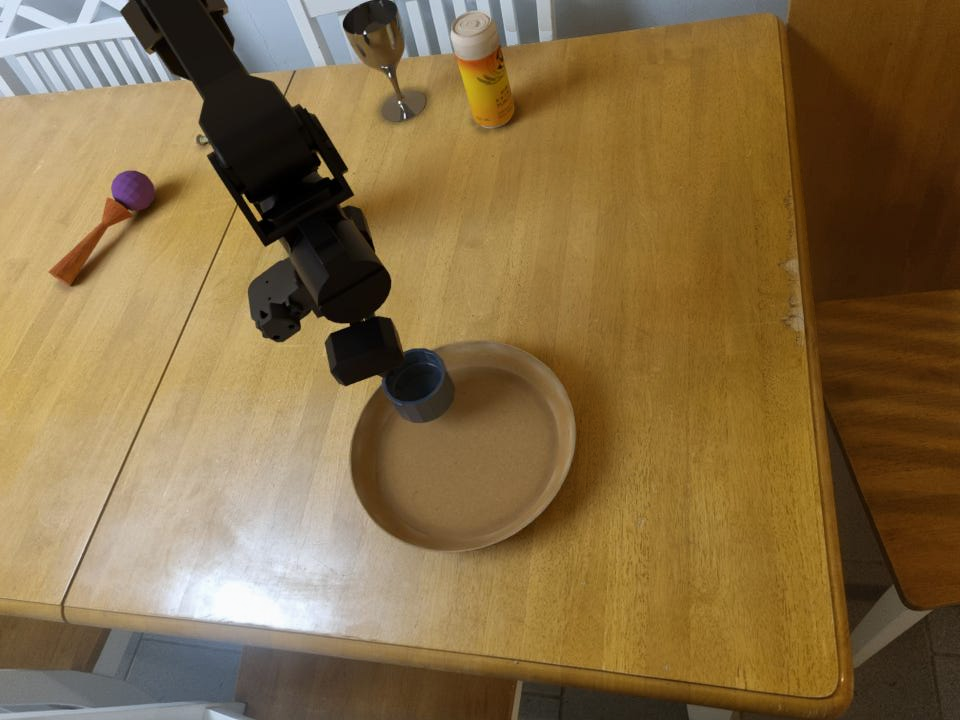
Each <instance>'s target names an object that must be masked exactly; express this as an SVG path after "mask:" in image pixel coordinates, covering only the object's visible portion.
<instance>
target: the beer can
mask: <svg viewBox="0 0 960 720" xmlns="http://www.w3.org/2000/svg"><path fill="white" fill-rule="evenodd" d="M450 27H451V30H450V41H451V44H452V47H453V50H454V55H455V58H456V61H457V65H458V68H459V71H460V75H461V79H462V82H463V86H464V90H465V93H466V96H467V100H468V103H469V104H468V105H469V107H470V111H471V114H472V118H473V121H474V122H475V123H476V124H478V125H479V126H481V127H483V128H485V129H497V128H501V127H503V126H505V125H506V124H507V123H508V122H509V121H510V120H511V119H512V116H513V115H514V114H515V109H516V108H515V102H514V98H513V94H512V90H511V84H510V80H509V76H508V71H507V68H506V64H505V62H506V61H505V59H504V53H503V50H502V45H501V40H500V37H499V32H498V26H497V23H496V21H495V20H494V19H493V18H492V15H491V14H490V13H489V12H488V11H485V10H479V9H475V10H469V11H467V12H464V13H462V14H460V15H458V16H457V17H456V18H455V19H454V20H453V22H452V23H451V26H450Z"/></svg>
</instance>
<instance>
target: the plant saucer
mask: <svg viewBox="0 0 960 720" xmlns="http://www.w3.org/2000/svg"><path fill="white" fill-rule="evenodd" d="M429 350H431V351H434V352H436V353H437V354H438V355H439V356H440V357H441V358H442V359H443V361H444V363H445V365H446V367H447V369H448V371H449V373H450V375H451V377H452V379H453V382H454V385H455V396H454V400H453V402H452V404H451V405H450V407H449V409H448V410H447V411H446V412H445V413H444V414H443V415H442V416H440V417H439V418H437V419H435V420H433V421H429V422H426V423H412V422H410V421H408V420H405V419H403V418H402V417H401V416H400V415H399V414H398V412H397V411H396V410H395V408H394V407H393V405H392V404H391V402H390V401H389V399H388V398H387V396H386V395H385V393H384V391H383V387H382V382H380V383H379V385H378V386H377V387H376V388H375V389H374V390H373V392H372V393H371V395H370V396H369V398H368V399H367V401H366V402H365V404H364V405H363V407H362V409H361V410H360V412H359V415H358V417H357V420H356V422H355V425H354V427H353V430H352V434H351V439H350V444H349V452H348V466H349V467H348V469H349V475H350V476H349V477H350V481H351V485H352V489H353V491H354V494H355V496H356V499H357V501H358V503H359V505H360V507H361V508H362V510H363V511H364V513H365V515H366V516H367V517H368V518H369V520H370V521H371V522H372V523H373V524H374V525H375V526H376V527H377V528H378V529H379V530H381V531H382V532H383V533H384V534H385V535H387V536H389V537H390V538H392V539H393V540H395V541H397V542H398V543H401V544H403V545H405V546H408V547H411V548H413V549H417V550H420V551H426V552H432V553H440V554H441V553H442V554H454V553H455V554H456V553H465V552H466V553H467V552H470V551H471V552H472V551H476V550H480V549H484V548H487V547H490V546H493V545H495V544H497V543H500V542H503V541H504V540H507V539H508V538H510V537H512V536H514V535H516V534H517V533H519V532H520V531H522V530H523V529H524V528H526V527H527V526H528V525H530V524H531V523H533V522H534V520H537V518H538V517H539V516H540V515H541V514H542V513H543V512H544V511H545V510H546V509H547V507H548V506H550V504H551V503H552V502H553V500H554V499H555V498H556V496H557V494H558V493H559V491H560V490H561V488H562V486H563V485H564V484H565V483H564V482H565V481H566V478H567V477H568V474H569V471H570V469H571V466H572V463H573V460H574V455H575V450H576V441H577V424H576V423H577V422H576V417H575V412H574V407H573V405H572V401H571V399H570V397H569V395H568V392H567V390H566V388H565V387H564V385H563V383H562V381H561V380H560V379H559V377H558V376H557V375H556V373H554V371H553V370H552V369H551V368H549V366H548V365H547V364H545V363H544V362H543V361H542V360H541V359H539V358H538V357H537V356H535V355H533V354H532V353H529V352H528V351H526V350H524V349H522V348H519V347H517V346H514V345H511V344H507V343H504V342H500V341H495V340H484V339H483V340H482V339H481V340H480V339H472V340H471V339H470V340H461V341H454V342H450V343H445V344H442V345H439V346H436V347H433V348H430V349H429Z"/></svg>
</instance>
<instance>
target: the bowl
mask: <svg viewBox="0 0 960 720" xmlns="http://www.w3.org/2000/svg"><path fill="white" fill-rule="evenodd" d="M403 352H404V356H405V360H404V362H403V364H402V365H401V366H400V367H398V368H396V369H395V373H394V375H392V376H390V377H387V378H382V377H381V383H382V387H383V391H384V393H385V395H386V396H387V398H388V399H389V401H390V402H391V404H392V405H393V407H394V408H395V410H396V411H397V412H398V414H399V415H400V416H401V417H402V418H403V419H405V420H408V421H410V422H412V423H426V422H429V421H433V420H435V419H437V418H439V417H440V416H442V415H443V414H444V413H445V412H446V411H447V410H448V409H449V407H450V405H451V404H452V402H453V400H454V396H455V385H454V382H453V379H452V377H451V375H450V373H449V371H448V369H447V367H446V365H445V363H444V361H443V359H442V358H441V357H440V356H439V355H438V354H437V353H436V352H434V351H431V350H430V349H428V348H426V347H415V348H414V347H413V348H410V349H406V350H405V351H404V350H403Z"/></svg>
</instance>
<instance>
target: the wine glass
mask: <svg viewBox="0 0 960 720" xmlns="http://www.w3.org/2000/svg"><path fill="white" fill-rule="evenodd" d="M398 8H399V7H398V6H397V4H396V3H395V2H394V1H393V0H367V1H365V2H362V3H360V4H358V5H356V6H354V7H353V8H352V9H351V10H349V11H348V12H347V13H346V14H345V16H344V17H343V20H342V28H343V31H344V33H345V36H346V38H347V40H348V42H349V44H350V46H351V48H352V50H353V51H354V54H355V55H357V57H358V58H359V60H360V61H361V62H362V63H363V64H364V65H366V67H369V68H371V69H373V70H376V71H378V72H380V73H382V74H384V75H385V76H386V77H387V79H388V80H389V81H390V83H391V86H392V87H393V90H394V92H395V94H393V95H391V96H390V97H389V98H386V100H385V101H384V103H383V104H382V106H381V111H380V112H381V116H382V117H383V118H384V120H386V121H389V122H392V123H399V122H400V123H401V122H404V121H408V120H411V119H413V118H414V117H416V116H418V115H419V114H420V113H421V112H422V111H423V110H424V108H425V106H426V103H427V98H426V97H425V95H424V94H423V93H422V92H420V91H419V90H414V89H413V90H412V89H408V90H407V89H406V90H402V91H401V88H400V85H399V80H398V75H397V69H398V65H399V63H400V62H401V59H402V57H403V55H404V53H405V50H406V36H405V35H406V34H405V29H404V24H403V20H402V17H401V14H400V13H401V12H400V11H399V9H398Z"/></svg>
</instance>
